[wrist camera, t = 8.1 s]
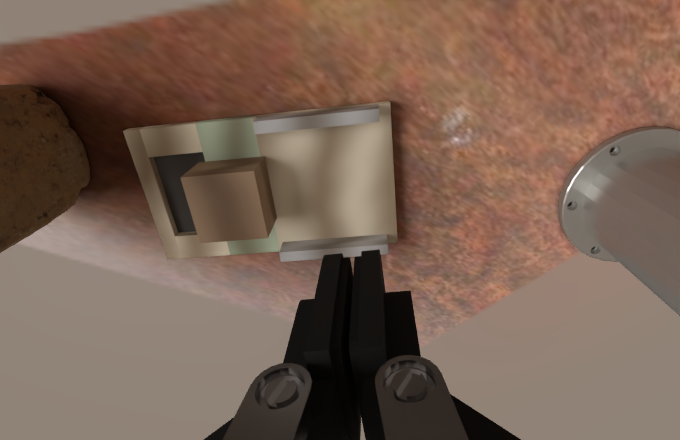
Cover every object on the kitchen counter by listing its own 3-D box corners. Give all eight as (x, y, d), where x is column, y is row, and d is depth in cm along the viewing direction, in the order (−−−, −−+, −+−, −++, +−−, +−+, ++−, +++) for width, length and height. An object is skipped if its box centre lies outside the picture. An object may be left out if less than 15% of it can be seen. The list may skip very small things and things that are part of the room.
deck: (389, 100, 33) (392, 107, 30) (396, 237, 38) (399, 253, 35) (128, 128, 35) (109, 136, 32) (172, 254, 40) (158, 270, 38)
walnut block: (264, 156, 34) (253, 170, 31) (277, 217, 37) (268, 238, 33) (198, 162, 35) (180, 177, 31) (215, 222, 37) (200, 243, 34)
